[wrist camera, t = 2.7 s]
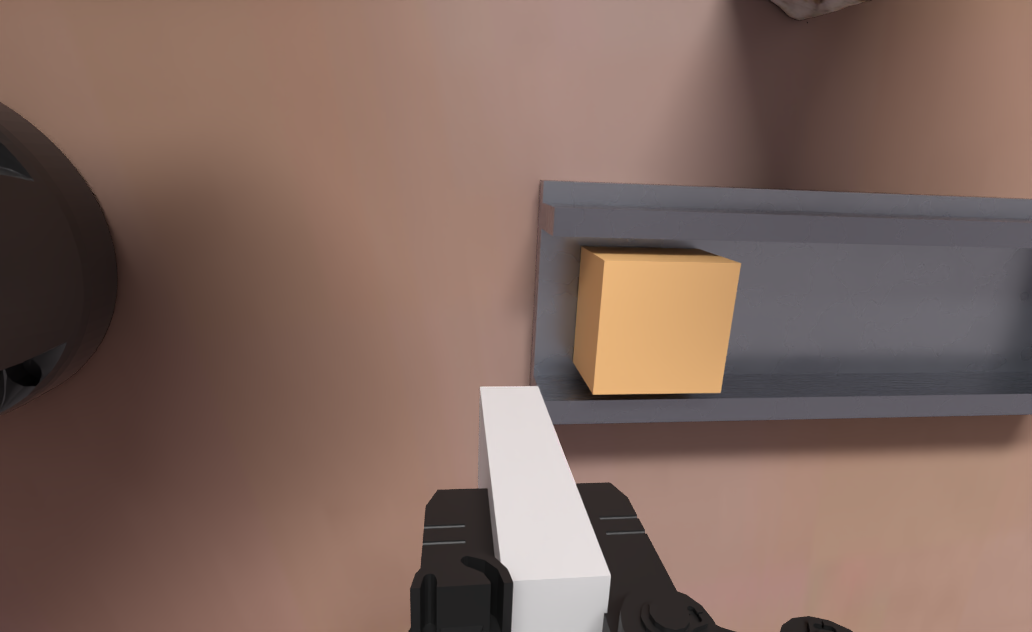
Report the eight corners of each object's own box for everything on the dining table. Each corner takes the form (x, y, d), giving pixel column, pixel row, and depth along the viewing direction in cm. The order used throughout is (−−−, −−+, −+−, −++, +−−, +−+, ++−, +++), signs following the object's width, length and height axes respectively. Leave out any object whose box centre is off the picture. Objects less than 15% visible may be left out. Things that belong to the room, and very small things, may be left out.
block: (572, 362, 27) (593, 394, 23) (581, 246, 25) (604, 260, 22) (683, 361, 28) (720, 392, 24) (698, 248, 26) (741, 263, 22)
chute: (528, 406, 29) (540, 443, 25) (540, 180, 25) (556, 182, 22) (1036, 398, 33) (1114, 429, 29) (1102, 201, 29) (1200, 207, 26)
